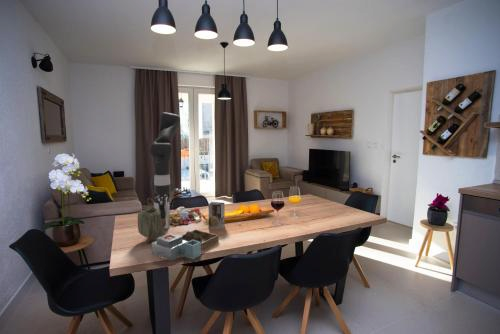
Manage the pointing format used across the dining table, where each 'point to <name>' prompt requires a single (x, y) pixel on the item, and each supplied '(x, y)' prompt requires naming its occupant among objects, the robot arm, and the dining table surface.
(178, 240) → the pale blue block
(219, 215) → the coffee box
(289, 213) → the dining table surface
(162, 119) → the robot arm
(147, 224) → the green backpack
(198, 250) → the pen cup
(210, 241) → the frame
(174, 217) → the food tray
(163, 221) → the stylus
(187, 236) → the seashell
